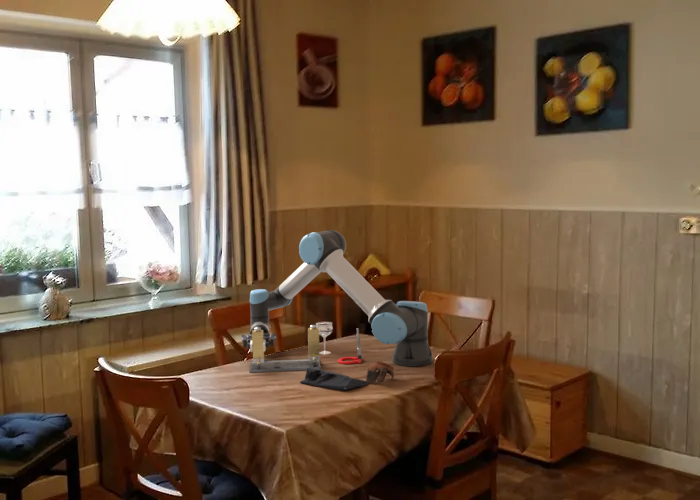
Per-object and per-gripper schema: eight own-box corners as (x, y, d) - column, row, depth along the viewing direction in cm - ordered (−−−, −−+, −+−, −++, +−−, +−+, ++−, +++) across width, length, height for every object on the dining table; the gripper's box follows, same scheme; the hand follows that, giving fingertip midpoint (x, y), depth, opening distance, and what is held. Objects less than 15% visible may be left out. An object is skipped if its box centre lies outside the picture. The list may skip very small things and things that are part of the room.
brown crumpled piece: (360, 380, 266) (369, 358, 268) (384, 390, 267) (393, 368, 269) (369, 381, 254) (377, 358, 256) (394, 391, 256) (402, 369, 258)
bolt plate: (318, 360, 291) (317, 321, 289) (320, 369, 279) (319, 328, 277) (250, 363, 288) (249, 324, 287) (249, 372, 277) (247, 331, 275)
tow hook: (337, 365, 285) (361, 364, 285) (334, 332, 284) (359, 330, 283) (338, 360, 294) (362, 358, 293) (336, 327, 292) (360, 326, 292)
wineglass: (318, 350, 307) (317, 321, 305) (334, 350, 306) (333, 321, 304) (315, 354, 300) (314, 325, 299) (331, 355, 299) (331, 325, 298)
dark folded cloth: (342, 396, 249) (342, 382, 248) (296, 383, 263) (295, 370, 263) (372, 385, 260) (372, 371, 260) (326, 374, 275) (326, 361, 274)
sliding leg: (264, 360, 285) (263, 326, 284) (263, 365, 278) (262, 330, 276) (253, 361, 285) (252, 326, 283) (252, 366, 278) (251, 330, 276)
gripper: (281, 341, 301) (281, 356, 278) (238, 343, 299) (234, 358, 276) (280, 323, 300) (280, 336, 277) (237, 325, 298) (233, 338, 275)
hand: (257, 347), depth 276 cm, fingers closed on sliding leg, 4 cm apart
